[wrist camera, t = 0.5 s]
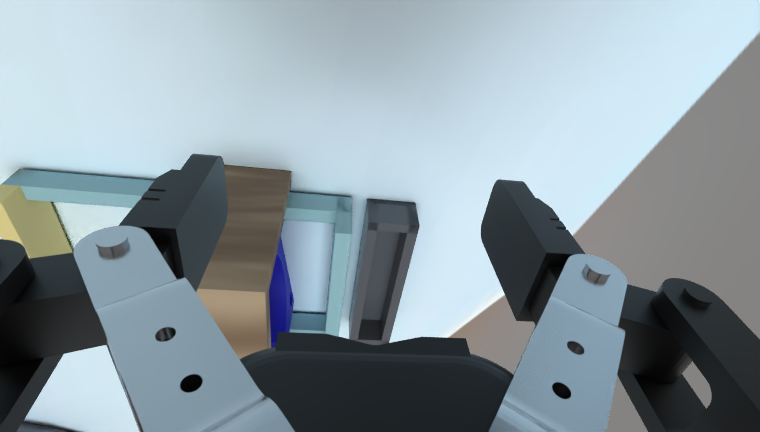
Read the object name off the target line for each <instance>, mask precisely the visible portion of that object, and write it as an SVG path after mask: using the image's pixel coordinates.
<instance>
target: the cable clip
mask: <svg viewBox="0 0 760 432" xmlns="http://www.w3.org/2000/svg"><path fill="white" fill-rule="evenodd" d="M269 303H270V331H271V348H273V347H276V342H277V336H278V332H290V325H291V318H292V311H293V304H294V299H293V294H292V289H291V284H290V279H289V274H288V270H287V265H286V260H285V255H284V250H283V245H282V240H281V235H280V240H279V245H278V250H277V254H276V259H275V264H274V269H273V273H272V278H271V283H270V288H269Z"/></svg>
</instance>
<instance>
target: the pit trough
mask: <svg viewBox="0 0 760 432" xmlns="http://www.w3.org/2000/svg"><path fill="white" fill-rule="evenodd" d="M418 230H419V221H418V215H417V210H416V205H415V203H412V202H400V201H389V200H377V199H367V206H366V212H365V219H364V225H363V232H362V239H361V245H360V252H359V258H358V265H357V271H356V278H355V285H354V291H353V298H352V304H351V311H350V317H349V339H350V340H354V341H358V342H362V343H366V344H370V345H382V344H387V343H389V340H390V337H391V333H392V329H393V325H394V321H395V318H396V314H397V310H398V306H399V302H400V298H401V295H402V291H403V287H404V283H405V279H406V276H407V272H408V268H409V264H410V260H411V256H412V253H413V249H414V245H415V241H416V237H417V233H418Z"/></svg>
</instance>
